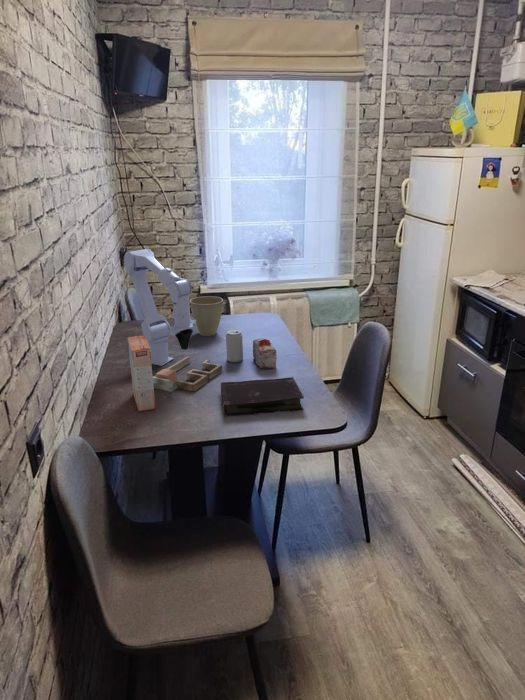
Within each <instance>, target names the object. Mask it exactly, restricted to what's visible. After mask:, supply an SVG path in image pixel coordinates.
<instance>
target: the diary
mask: <svg viewBox="0 0 525 700" xmlns="http://www.w3.org/2000/svg"><path fill="white" fill-rule="evenodd" d="M220 393H221V395H222V399H223V404H224V406H222V407H223V414H224V416H225V417H239V416H250V415H259V414H260V415H261V414H262V415H263V414H274V413H278V412H298V411H299V412H301V411H304V410H305V409H304V408H303V406H302V404H301V399H305V397H304V395H303V393H302V390H301V389H300V387H299V385H298V384H297V381H296V380H295V378H294V377H293V376H292V377H281V378H280V377H279V378H274V379H273V378H269V379H268V378H267V379H251V380H243V381H222V382H220Z"/></svg>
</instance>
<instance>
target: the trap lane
mask: <svg viewBox="0 0 525 700" xmlns="http://www.w3.org/2000/svg"><path fill="white" fill-rule="evenodd" d="M190 357H191V356H189V355H188V356H185V357H184V358H182V359H181V360H178V361H177V362H175V363H174V364H172V365H171V366H169V367H167V368H166V369H170V370H175V371H176V372H178V371H179V370H181V369H182V368H184V367H185V366H187V365H188V364H190V363H191V358H190ZM201 364H202V370H200V369H197V368H196V369H194V368H192V369H191V370H189V371H187V372H186V380H188V381H186V380H185V381H184V380H180V379H177V380H175V381H174V382H173V381H172V380H168V379H163V378H158V377H156V374H155V375H153V386H154V389H156V390H160V391H165V392H169V393H172V392H174V391H176V390H177V389H180V390H185V391H190V392H196V391H197V390H199V389H200V388H202V387H203V386H204V385H205V384H207V383H208V381H211V380H213V379H214V378H215V377H217V376H218V375H219V374H221V373H222V372H223V366H222V364H218V363H212V362H211V363H210V359H206V360H204V361H203V362H202V363H201ZM190 381H194V382H190Z"/></svg>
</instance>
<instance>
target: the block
mask: <svg viewBox="0 0 525 700" xmlns="http://www.w3.org/2000/svg"><path fill="white" fill-rule="evenodd" d="M155 375H156V377H158V378H163V379H168V380H172V381H173V382H174V381H175V380H178V378H177V377H178V376H177V371H175V370H170V369H167V368H163V369H161V370H160V371H158V372H156V373H155Z"/></svg>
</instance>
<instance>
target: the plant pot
mask: <svg viewBox="0 0 525 700" xmlns="http://www.w3.org/2000/svg"><path fill="white" fill-rule="evenodd" d="M189 305H190V307H191V308H190V310H191V312H192V316H193V320H196V325H195V326H196V327H197V330H198V332H199V334H200V335H201V336H204V337H211V336H214V335H216V334H217V332H218V330H219V327H220V326H219V325H220V322H221V317H222V314H223V313H222V312H223V307H224V299H223V298H222V297H219V296H215V295H214V296H210V295H206V296H198V297H193V298H190V299H189Z"/></svg>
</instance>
